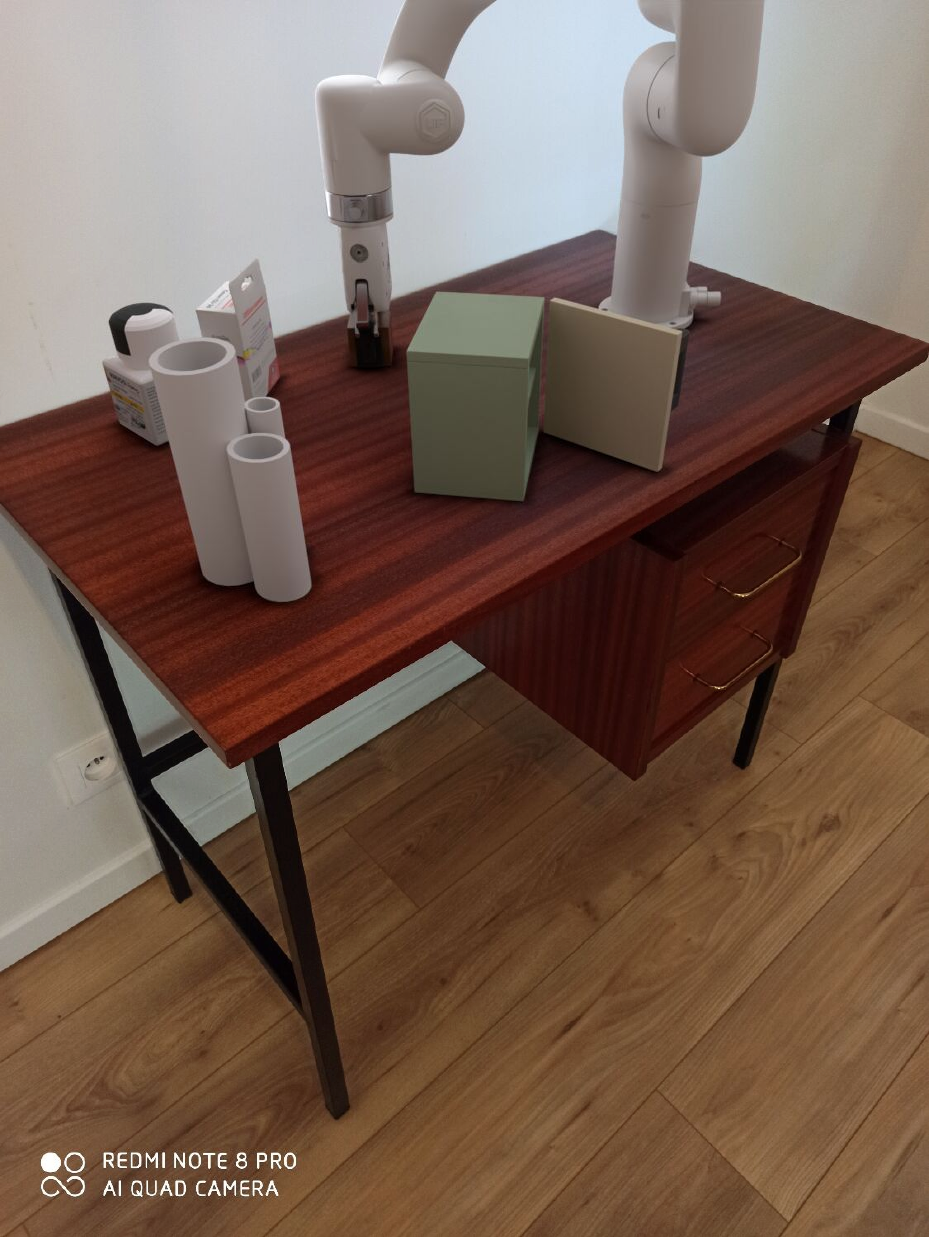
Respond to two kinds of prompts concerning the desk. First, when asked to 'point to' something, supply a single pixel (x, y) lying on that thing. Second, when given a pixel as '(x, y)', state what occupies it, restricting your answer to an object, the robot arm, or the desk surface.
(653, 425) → the cupboard door
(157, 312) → the container
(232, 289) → the ink cartridge box
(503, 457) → the cupboard
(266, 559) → the vase
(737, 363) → the desk surface
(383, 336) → the block
